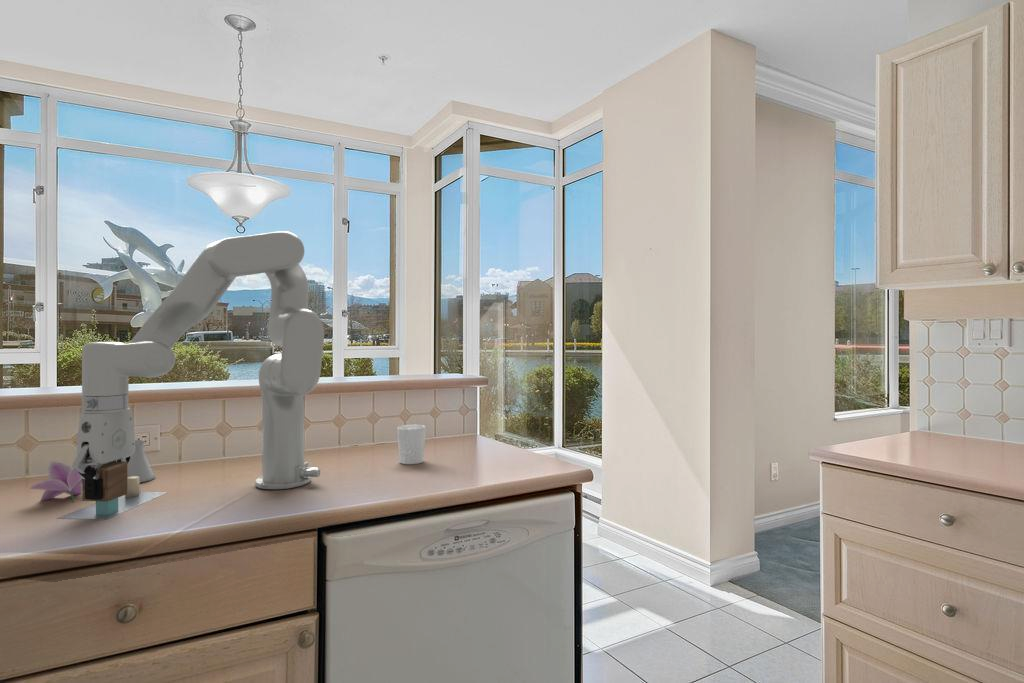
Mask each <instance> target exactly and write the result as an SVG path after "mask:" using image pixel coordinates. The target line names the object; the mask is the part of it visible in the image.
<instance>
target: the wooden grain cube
mask: <svg viewBox="0 0 1024 683" xmlns="http://www.w3.org/2000/svg"><path fill="white" fill-rule="evenodd" d="M91 469H92V470H93V471H94V470H95V466H92V467H91ZM100 478H103V498H102V499H99V500H94V499H85V479H82V494H81V497H82V498H81V501H83V502H96V501H107V502H108V501H110V500H113V499H116V498H118V497H121V496H123V495H126V494H127V462H119V461H113V462H110V463H106V464H103V466H102V471H101V475H100Z"/></svg>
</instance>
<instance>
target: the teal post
mask: <svg viewBox="0 0 1024 683" xmlns="http://www.w3.org/2000/svg"><path fill="white" fill-rule="evenodd" d="M95 503H96V514H101V515H109V514H111V513H114V512H116V511H118V498H116V499H113V500H110V501H108V502H107V501H95Z"/></svg>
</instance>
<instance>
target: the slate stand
mask: <svg viewBox="0 0 1024 683" xmlns="http://www.w3.org/2000/svg"><path fill="white" fill-rule="evenodd" d="M140 490H141V489H140V483H139V476H132V477H127V494H126V495H123V496H121V497H118V511H116V512H114V513H111V514H109V515H101V514H96V502H94V503H93V504H90V505H87V506H84V507H82V508H79V509H77V510H74V511H72V512H69V513H67V514H64V515H62V516H59V517H56V519H57V520H58V519H60V520H64V519H65V520H100V521H101V520H103V521H104V520H105V521H106V520H109V519H111V518H113V517H115V516H118V515H120V514H123V513H124V512H128V511H129V510H131V509H134V508H136V507H138V506H140V505H143V504H146V503H148V502H150V501H152V500H154V499H157V498H158V497H161V496H164V495H166V494H168V493H169V492H167V491H164V492H163V491H162V492H161V491H140Z"/></svg>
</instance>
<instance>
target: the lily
mask: <svg viewBox="0 0 1024 683" xmlns="http://www.w3.org/2000/svg"><path fill="white" fill-rule="evenodd" d="M48 478H49V479H46V480H43V481H40V482H38V483H35V484H33V485H32V486H30V487H29V489H30V490H43V493H42V496H41V498H40V501H45V500H50V499H54V498H56V497H57V496H61V495H62V494H64V493H65V494H66V495H69V496H70V498H71V500H72V503H75V498H74V496H76V495H82V475H80V474H79V473H78V471H76V470H75V469H73V468H72V466H69V465H68V464H65V463H62V462H60V461H59V462H58V461H54V460H53V461H51V462H50V463H49V465H48Z"/></svg>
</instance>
